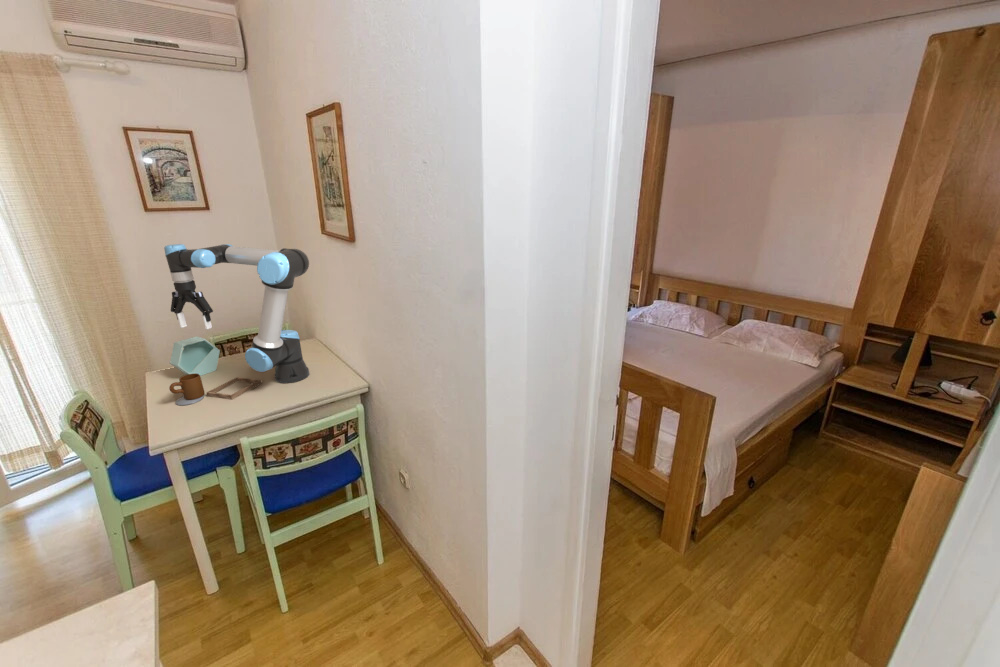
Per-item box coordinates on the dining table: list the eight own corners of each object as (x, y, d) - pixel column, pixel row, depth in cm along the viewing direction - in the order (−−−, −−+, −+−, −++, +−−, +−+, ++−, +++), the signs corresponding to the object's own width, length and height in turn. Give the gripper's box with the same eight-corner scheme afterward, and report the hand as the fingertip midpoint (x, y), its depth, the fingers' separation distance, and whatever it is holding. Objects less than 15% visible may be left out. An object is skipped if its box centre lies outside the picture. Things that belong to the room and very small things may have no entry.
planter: (203, 384, 214) (168, 359, 199) (195, 380, 218) (159, 356, 203) (228, 357, 222) (196, 331, 207) (219, 354, 226) (187, 329, 211)
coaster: (209, 396, 191) (208, 394, 191) (188, 406, 182) (188, 405, 182) (191, 393, 194) (191, 392, 194) (170, 404, 185) (169, 402, 184)
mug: (178, 406, 181) (172, 386, 178) (169, 402, 185) (163, 382, 182) (208, 394, 191) (203, 375, 188) (199, 391, 195) (194, 372, 192)
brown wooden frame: (261, 383, 203) (260, 379, 202) (232, 399, 188) (231, 395, 187) (238, 380, 206) (237, 377, 206) (207, 396, 191) (206, 392, 190)
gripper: (214, 279, 188) (226, 326, 195) (168, 278, 193) (181, 323, 200) (200, 283, 181) (212, 331, 188) (152, 282, 186) (165, 329, 193)
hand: (196, 327), depth 194 cm, fingers open, 13 cm apart
